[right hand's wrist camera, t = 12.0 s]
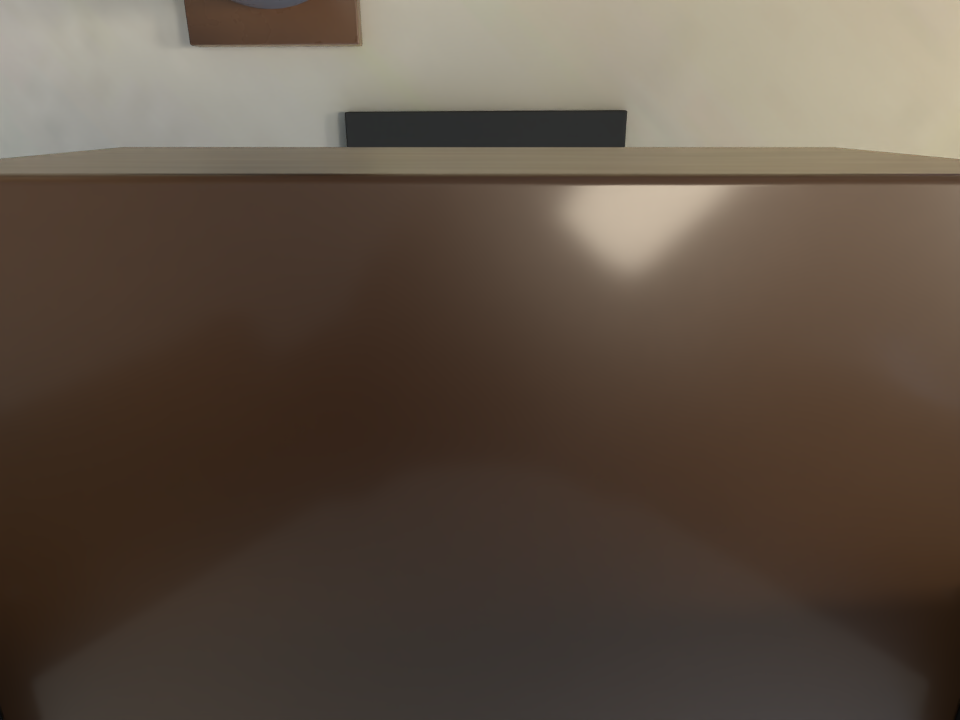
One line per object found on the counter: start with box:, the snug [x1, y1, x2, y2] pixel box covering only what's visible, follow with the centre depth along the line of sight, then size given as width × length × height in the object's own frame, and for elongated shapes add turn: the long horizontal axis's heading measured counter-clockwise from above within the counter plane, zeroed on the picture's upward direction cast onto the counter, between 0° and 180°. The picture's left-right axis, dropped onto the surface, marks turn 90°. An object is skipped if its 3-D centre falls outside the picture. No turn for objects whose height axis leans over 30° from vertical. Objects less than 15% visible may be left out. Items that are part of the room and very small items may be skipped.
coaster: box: [345, 110, 627, 147], centre depth 36 cm, size 14×14×1 cm
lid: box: [0, 147, 960, 720], centre depth 10 cm, size 11×11×5 cm
